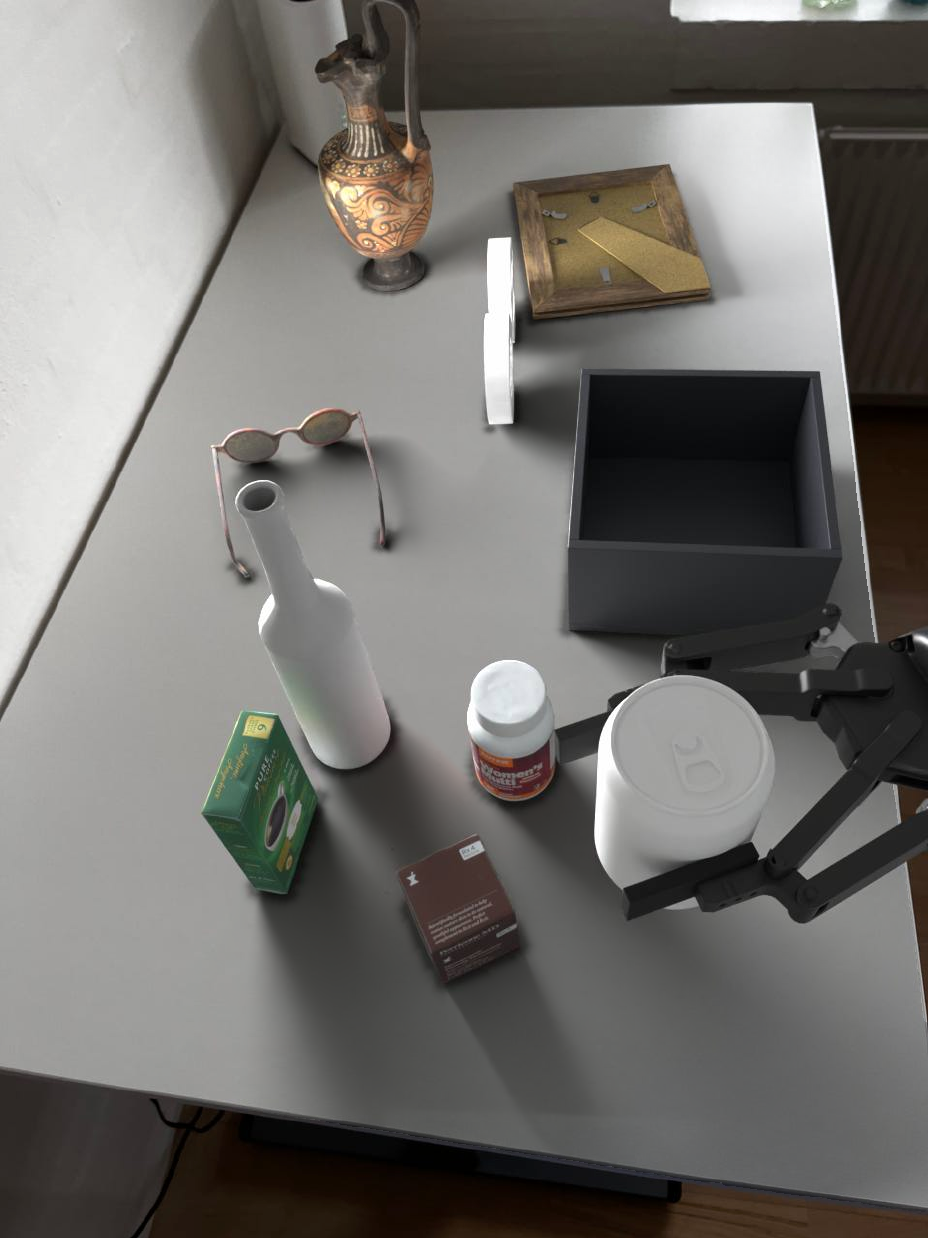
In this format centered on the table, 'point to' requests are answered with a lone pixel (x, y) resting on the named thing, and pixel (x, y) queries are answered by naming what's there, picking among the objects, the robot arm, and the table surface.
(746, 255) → the table surface
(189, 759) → the table surface
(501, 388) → the letter
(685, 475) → the storage bin
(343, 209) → the vase
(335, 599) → the bottle
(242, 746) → the coffee box
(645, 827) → the beverage can
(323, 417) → the eyeglasses
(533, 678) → the pill bottle
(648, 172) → the picture frame
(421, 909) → the box
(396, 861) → the table surface
